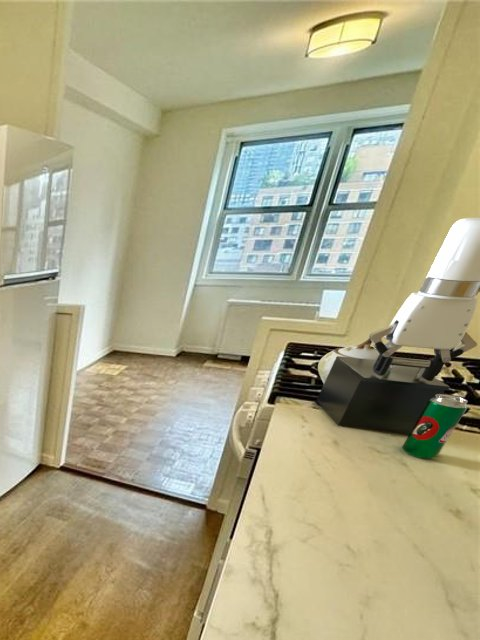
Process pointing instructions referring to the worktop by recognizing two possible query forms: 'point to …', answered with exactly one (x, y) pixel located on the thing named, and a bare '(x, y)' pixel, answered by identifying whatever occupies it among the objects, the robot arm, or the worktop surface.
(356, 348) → the sugar bowl
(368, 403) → the bin
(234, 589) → the worktop surface
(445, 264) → the robot arm
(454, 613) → the worktop surface
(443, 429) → the soda can
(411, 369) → the bin lid
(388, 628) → the worktop surface
